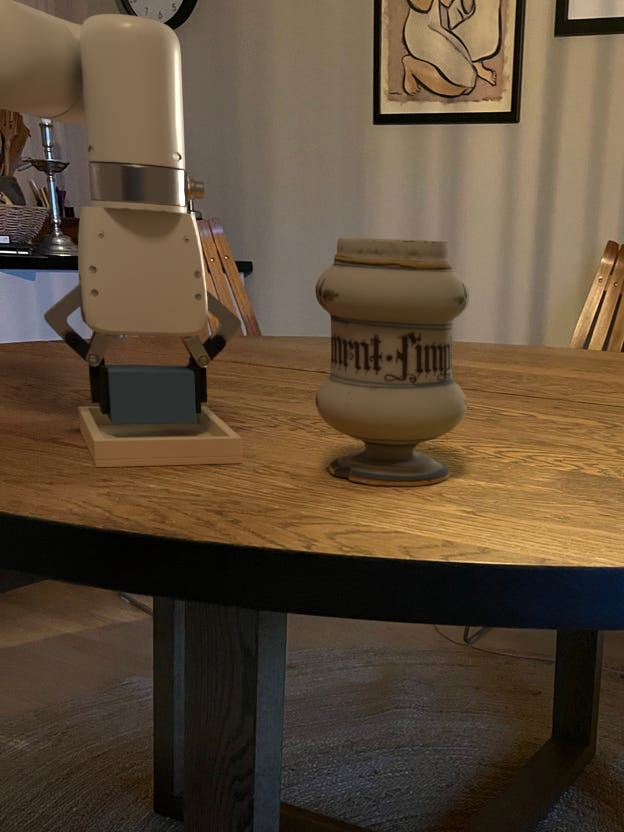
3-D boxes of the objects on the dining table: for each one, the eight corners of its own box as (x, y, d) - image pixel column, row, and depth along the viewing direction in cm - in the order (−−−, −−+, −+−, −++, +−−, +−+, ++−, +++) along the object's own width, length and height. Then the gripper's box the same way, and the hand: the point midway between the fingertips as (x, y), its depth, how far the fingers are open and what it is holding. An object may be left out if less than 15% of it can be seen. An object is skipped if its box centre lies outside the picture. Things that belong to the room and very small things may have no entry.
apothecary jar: (284, 468, 84) (281, 231, 77) (390, 452, 92) (395, 238, 86) (388, 497, 77) (395, 238, 70) (492, 477, 85) (507, 245, 79)
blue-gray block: (112, 424, 88) (108, 371, 86) (106, 415, 92) (103, 364, 90) (196, 423, 90) (194, 372, 89) (187, 414, 94) (185, 365, 93)
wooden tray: (79, 429, 94) (77, 406, 94) (206, 427, 99) (205, 405, 98) (95, 467, 80) (93, 440, 80) (242, 463, 85) (241, 437, 84)
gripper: (236, 200, 91) (240, 404, 97) (22, 184, 84) (42, 405, 91) (254, 199, 85) (258, 418, 91) (24, 182, 78) (46, 419, 84)
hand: (150, 409), depth 91 cm, fingers closed on blue-gray block, 7 cm apart
